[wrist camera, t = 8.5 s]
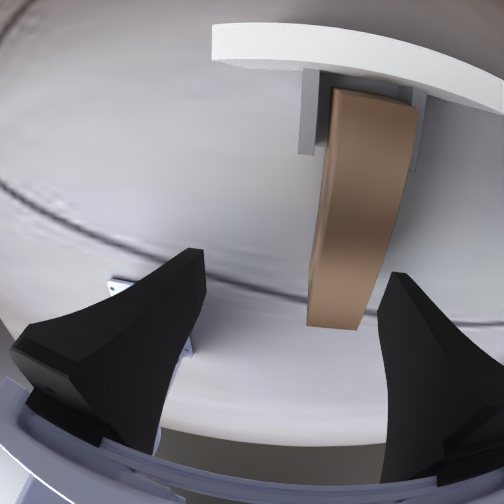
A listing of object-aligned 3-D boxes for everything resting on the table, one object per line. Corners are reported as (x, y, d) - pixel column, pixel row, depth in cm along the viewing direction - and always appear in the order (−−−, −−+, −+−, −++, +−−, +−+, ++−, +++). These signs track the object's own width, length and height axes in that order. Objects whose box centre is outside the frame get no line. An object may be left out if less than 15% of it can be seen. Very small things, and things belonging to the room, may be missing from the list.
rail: (350, 273, 21) (356, 330, 17) (309, 268, 22) (306, 325, 17) (385, 95, 13) (418, 109, 9) (331, 85, 14) (342, 94, 9)
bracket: (441, 166, 16) (496, 212, 10) (245, 138, 17) (212, 169, 11) (454, 81, 12) (519, 89, 6) (247, 46, 14) (212, 24, 8)
